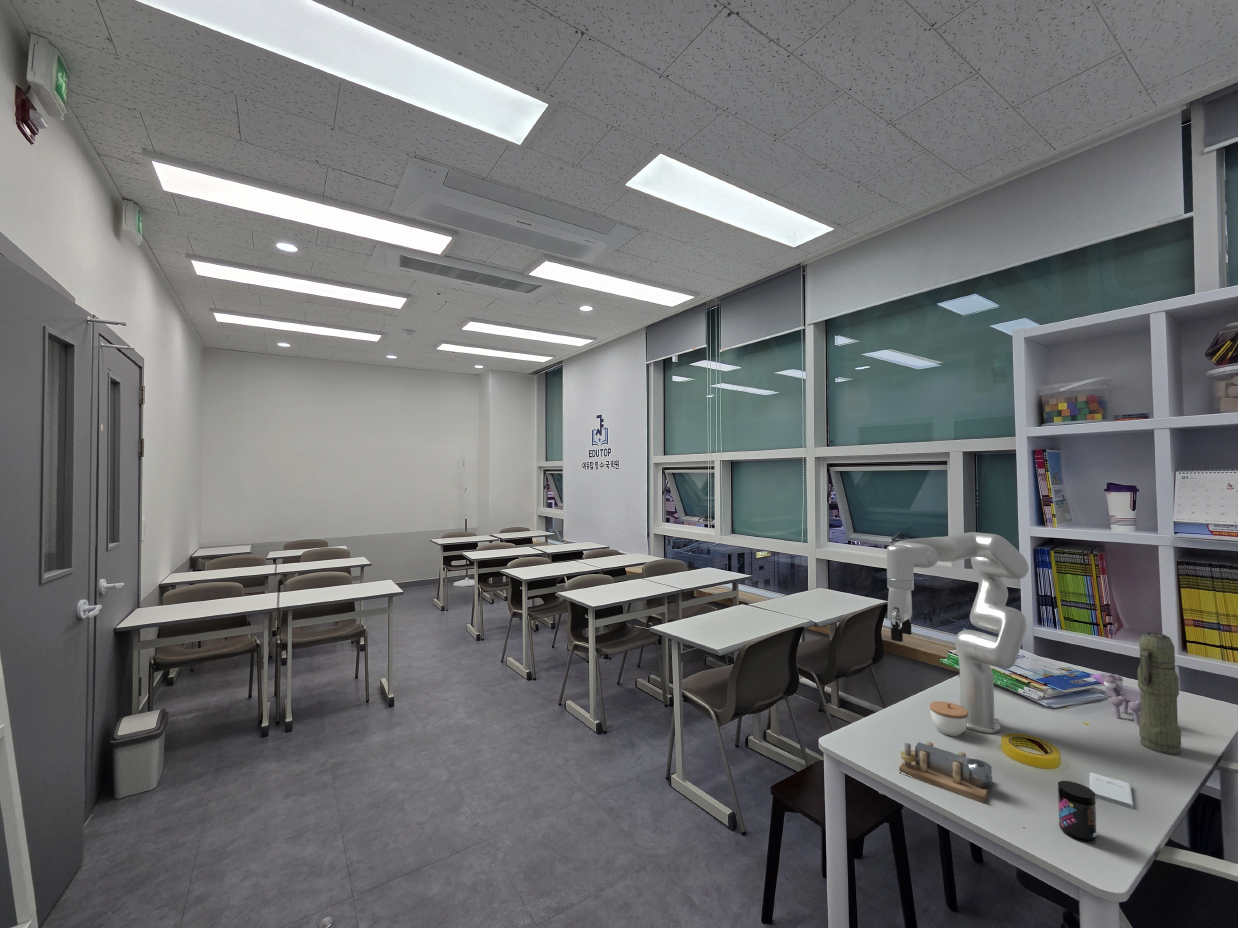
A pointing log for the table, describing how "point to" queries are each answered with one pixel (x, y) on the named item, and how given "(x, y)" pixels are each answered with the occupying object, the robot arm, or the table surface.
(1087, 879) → the table surface
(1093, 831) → the supplement container
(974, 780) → the grey long block
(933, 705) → the lidded jar
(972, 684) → the robot arm
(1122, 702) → the purple toy animal
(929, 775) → the rack
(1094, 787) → the external hard drive
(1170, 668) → the moai statue
